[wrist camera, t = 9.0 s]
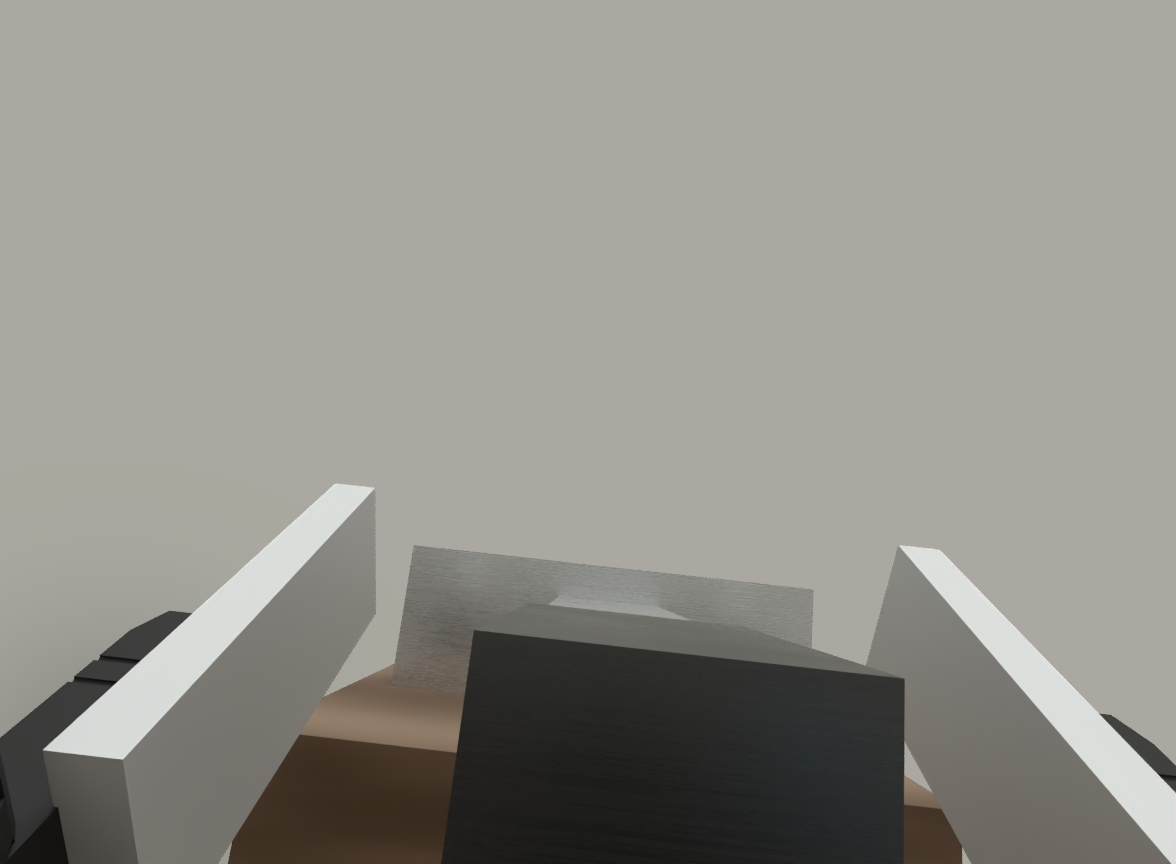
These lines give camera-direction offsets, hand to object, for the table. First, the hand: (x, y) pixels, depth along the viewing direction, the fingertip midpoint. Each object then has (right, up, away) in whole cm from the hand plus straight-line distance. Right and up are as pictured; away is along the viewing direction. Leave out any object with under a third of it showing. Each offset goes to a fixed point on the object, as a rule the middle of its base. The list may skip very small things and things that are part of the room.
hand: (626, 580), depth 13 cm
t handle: (0, -4, +1) cm, 4 cm away
